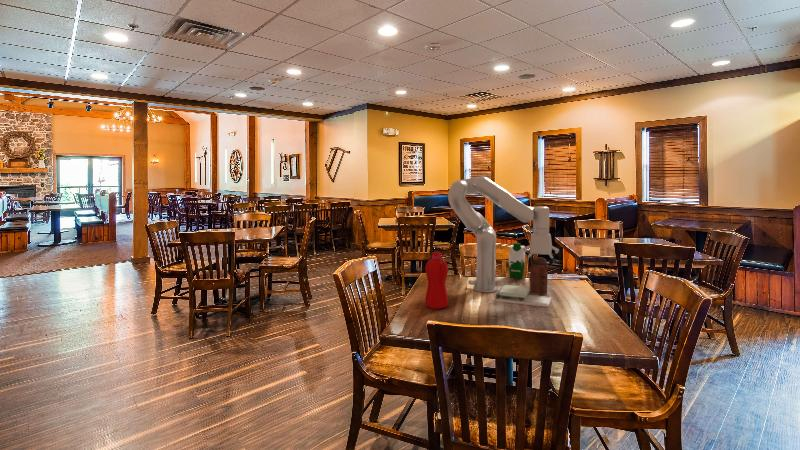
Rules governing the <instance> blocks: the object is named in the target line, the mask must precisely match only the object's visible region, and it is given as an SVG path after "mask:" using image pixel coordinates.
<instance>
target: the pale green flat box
mask: <svg viewBox="0 0 800 450" xmlns="http://www.w3.org/2000/svg"><path fill="white" fill-rule="evenodd" d="M500 289H501V288H500ZM530 292H531V290H530V286H523V285H522V286H521V285H513V284H512V285H510V284H505V285H504V286H503V287H502V289H501V291H500V292H499V295H501V297H502V298H503V299H505V298H507V296H512V297H518V299H519V300H524V299H525V298H526V296H527V295H529V293H530Z"/></svg>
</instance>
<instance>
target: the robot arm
mask: <svg viewBox="0 0 800 450" xmlns="http://www.w3.org/2000/svg"><path fill="white" fill-rule="evenodd" d="M447 193H448V195H447V197H448V199H447V200H448V203H449V205H450V207H451V209H452V210H453V211H454V212H455V214H456V216H457V217H458V219H459V220H460V221H461V222H462V223H463V225H464V226H465V227H466V229H468V230H469V231H471V232H472V233H473V234H474V235H475V237H476V272H475V273H476V276H475V277H476V279H475V280H472V279H468V285H471V286H472V285H473V287H472V288H473V290H474V291H476V292H478V293H479V292H480V293H494V292H498V291H499V287H498V286H496V246H497V233H496V231H495V230H494V228H493V227H492V226H491V224H490V223H489V222H488V221H487V219H486V218H485V217H484V216H483V215H482V214H481V213H480V212H479V211H476V210H475V209H474V208H473V206H472V205H471V204H470V202H469V201H468V200H467V198H466V196H469V195H470V196H471V195H477V194H480V195H481V196H483V197H484V198H486V199H487V200H489V201H491V202H492V203H494V204H495V205H497V206H498V207H499V208H501V209H502V210H504V211H506V212H507V213H508V214H510V215H512V217H515V218H516V219H517V220H519V221H520V222H522V223H530V222H532V221H533V225H532V226H533V227H532V228H530V232H532V233H531V236H530V244H529V245H527V246H524V248H523V250H524V252H525V256H527V257H528V264H529V266H531V265H532V262H533V255H545V256H547V255H548V256H549V267H552V265H554V258H555V257H556V256H557V255H558V253H559V252H560V249H559V248H557V247H555V246H553V243H552V235H551V233H550V208H549V207H548V206H541V205H539V206H528V205H526V204H524V203H523V202H521V201H520V200H519V199H517V198H515V197H514V196H513V195H512V194H511V193H510V192H509V191H508V190H506V189H505V188H503V187H502V186H500V185H499V184H497V183H495V182H494V181H493V180H491V179H490V178H489V177H487V176H483V175H482V176H481V175H480V176H478V177H471V178H465V179H458V180H455V181H454V182H453V183H452V184H451V185H450V187H449V191H448V192H447ZM528 249H529V251H528ZM552 250H553V251H555V252H554V253H552Z"/></svg>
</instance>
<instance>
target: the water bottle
mask: <svg viewBox="0 0 800 450" xmlns="http://www.w3.org/2000/svg"><path fill="white" fill-rule="evenodd" d="M442 254H443V253H442V252H440V251H434V252H431V258H430V259H429V260H427V262H426V264H425V267H424V268H425V269H424V270H425V275H426V279H427V288H426V292H425V299H424V301H425V302H424V303H425V306H426V307H428V308H431V310H439V309H446V308H447V307H448V306H449V295H448V292H447V287H446V285H447V284H446V283H447V276H448V273H449V267H448V263H447V261H445V260H444V259H443V258H442Z"/></svg>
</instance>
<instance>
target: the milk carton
mask: <svg viewBox="0 0 800 450" xmlns="http://www.w3.org/2000/svg"><path fill="white" fill-rule="evenodd" d="M524 247H525V245H521V242H513V244H511V245H510V246H509V250H508V251H509V254H508V273H509V278H510V279H523V277H524V273H525V272H524V271H525V266H526V265H525V264H526V254H525V252H524V250H523V248H524Z"/></svg>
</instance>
